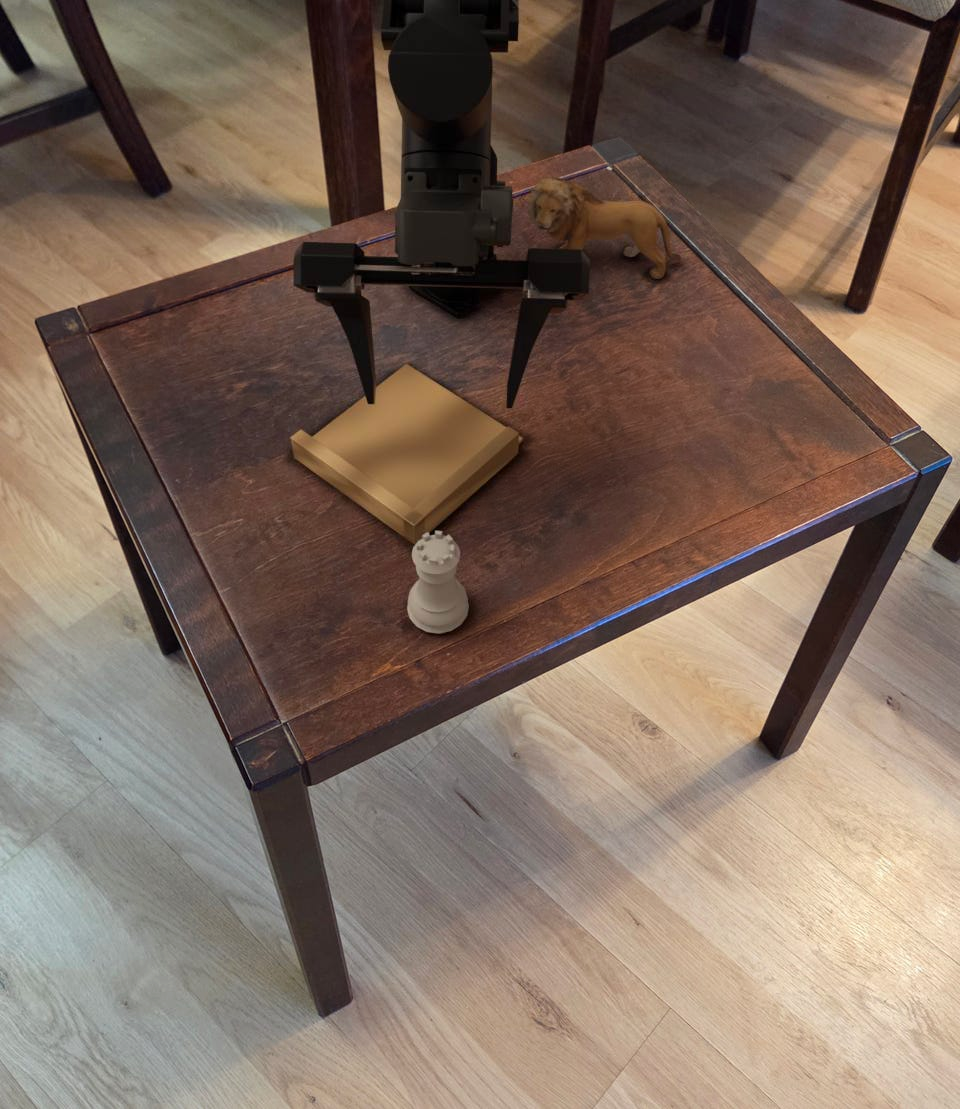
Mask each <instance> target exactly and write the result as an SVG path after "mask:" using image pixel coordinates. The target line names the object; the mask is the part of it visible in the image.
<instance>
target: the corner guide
mask: <svg viewBox="0 0 960 1109" xmlns="http://www.w3.org/2000/svg"><path fill="white" fill-rule="evenodd" d="M522 442H524V438H523V437H522V436H520V432H518V431H517V430H515V429H514V428H512V427H511V426H509V425H508V426H505V425H504V424H502V423H500V422H499V421H497V420H495V419H494V418H492V417H491V416H489V415H488V414H486V413H485V412H483V411H481V410H480V409H478V408H477V407H475V406H474V405H473V404H470V403H469V402H467V401H466V400H464V399H463V398H461V397H460V396H458V395H456V394H455V393H453V392H452V391H451V390H448V389H447V388H445V387H444V386H442V385H440V384H439V383H437V382H436V381H434V380H433V379H431V378H430V377H428V376H427V375H425V374H424V373H422V372H420V371H419V370H417V369H415V368H414V367H413V366H411V365H409V364H408V363H406V364H404V365H403V366H402V367H400V368H399V369H398V370H397V371H395V372H394V373H392V374H391V375H390V376H388V377H387V378H386V379H384V381H382V382H381V383H379V384H378V385H376V395H375V404H368V403H367V400H366V396H365V395H364V396H363V397H361V398H360V399H359V400H358V401H357V402H355V403H354V404H353V405H351V406H350V407H349V408H347V409H346V410H344V411H343V412H342V413H341V414H340V415H338V416H336V418H334V419H333V420H332V421H330V422H329V423H328V424H327V425H325V426H324V427H323V428H322V429H320V430H319V431H317V432H316V433H315V434H314V435H313V436H312V435H310V434H309V433H308V432H306V431H304V430H303V429H299V430H298V431H297V432H295V433H294V434H293V435H291V436H290V443H291V448H292V453H293V458H294V459H295V460H296V461H298V462H299V463H301V465H303V466H305V467H306V468H308V469H309V470H310V471H311V472H313V473H315V474H316V475H317V476H318V477H320V478H321V479H322V480H324V481H325V482H327V483H328V484H330V485H331V486H333V487H334V489H337V491H339V492H340V493H342V494H343V495H344V496H346V497H347V498H349V499H351V500H352V501H353V502H355V503H356V504H357V505H359V506H360V507H362V508H363V509H364V510H366V511H367V512H369V513H370V514H371V515H372V516H374V517H375V518H377V519H378V520H379V521H381V522H382V523H384V524H385V525H387V527H389V528H390V529H392V530H393V531H395V532H396V533H398V534H399V535H400V536H402V537H403V538H404V539H406V540H407V541H408V542H410V543H411V544H413V545H414V546H415V545H416V543H417V542H418V541H419V540H421V539H422V535H424V534H425V533H427V532H428V533H429V534H430V533H431V532H432V531H433V530H435V529H436V528H437V527H438V526H439V525H440V524H441V523H442V522H443V521H445V520H446V519H447V518H448V517H449V516H450V515H451V514H453V512H454V511H456V510H457V509H458V508H459V507H460V506H461V505H462V504H463V503H464V502H466V501H467V500H468V499H469V498H470V497H471V496H472V495H474V494H475V493H476V492H477V491H478V490H479V489H480V488H482V486H483V485H485V484H486V483H487V482H488V481H490V479H491V478H492V477H494V476H495V475H496V474H497V473H498V472H500V470H502V469H503V468H504V467H505V466H506V465H507V464H508V463H509V462H511V461H512V460H513V459H514V458H515V457H516V456H518V454H519V445H521V443H522Z"/></svg>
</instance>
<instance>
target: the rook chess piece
mask: <svg viewBox="0 0 960 1109" xmlns="http://www.w3.org/2000/svg"><path fill="white" fill-rule="evenodd" d="M460 557H461V550H460V547H459V545H458V544H457V543H456V542H455V540H454V539H453V537H452V536H451V535H450V534H447V535H443V531H442V530H434V534H431V535H430V533H428V532H427V533H425V534H424V535H422V539H421V540H419V541H418V542H417V543H416V545H414V546H413V548H412V551H411V558H412V561H413V565H415V570H416V573H417V576H418V580H416V581H415V583H414V584H413V586H412V587H411V588H410V590H409V593H408V598H407V607H406V610H407V613H408V617H409V618H408V619H410V620H411V622H412V624H414V625H415V627H416V628H418V629H420V630H422V631H424V632H426V633H432V634H444V633H447V632H452V631H453V630H455V629H456V628H458V627H460V626H461V625H462V624H463V622H464V621H465V620H466V618H467V617H468V613H469V607H470V605H469V602H468V601H469V598H468V595H467V591H466V589H465V586H464V585H463V584H462V583H461V582H460V581H459V580H458V579H457V578H456V576H455V575H456V574H457V570H458V565H457V564H458V563H459V562H460V559H461V558H460Z"/></svg>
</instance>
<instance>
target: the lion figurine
mask: <svg viewBox="0 0 960 1109" xmlns="http://www.w3.org/2000/svg"><path fill="white" fill-rule="evenodd" d="M529 197H530V200H529V202H528V209H527V213H528V216H529V219H530V220H531V222H532V223H533V224H534V225H535V226H536V227H537V228H538V231H539V232H541V233H548V235H549V237H551V239H554V240H555V241H563V242H565V243H564V244H562V245H561V246H560V247H559V249H581V250H582V251H583V249H584V246H585V245H586V244H587V242H588V239H592V240H598V241H611V240H612V241H613V240H617V239H619V238H622V237H624V236H626V235H628V236H629V237H630V238H631V240H632V241H633V243H634V246H626V247H625V248H624V249H623V255H624V256H625V257H628V258H632V257H636V256H637V255H638V254H639V253H641V254H642V255H644V256H645V257H646V258H648V259H649V260H651V261H652V262H653V263H654V264H655V265H656V267H653V268H652V269H650V271H649V275H650V276H651V278H653V279H655V280H660V279H662V278H663V277H664V275H665V273H666V269H667V268H666V267H667V264H666V263H667V261H666V259H667V258H668V259H669V260H670V261H673V262H675V263H676V262H679V261H681V260H682V255H681V254H678V253H674V252H673V251H672V248H671V238H670V231H669V228H668V223H667V221H666V219H665V217H664V216H663V215H662V214H661V212H659V210H658V209H657V208H656V207H655V206H653V205H652V204H650V203H648V202H647V201H643V200H640V199H639V200H638V199H636V200H628V201H627V200H625V201H613V200H604V199H599V198H598V197H596V196H595V194H594V193H593V192H592V191H591V190H590V189H588V188H585V187H584V186H580V184H579V183H573V182H572V181H571V180H570V179H565V178H560V177H546V178H545V177H544V178H542V179H540V180H539V181H538V182H537V183H536V184H535V186H534V187H532V188H531V189H530V195H529ZM658 229H660V233H661V237H662V241H663V246H664V247H663V248H664V251H665V254H666V255H665V254H664V253H663V252H662V251H661V250H660V247H659V245H658V241H657V236H658V235H657V234H658ZM666 256H667V258H666Z"/></svg>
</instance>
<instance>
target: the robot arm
mask: <svg viewBox="0 0 960 1109" xmlns="http://www.w3.org/2000/svg"><path fill="white" fill-rule="evenodd" d="M519 3H520V2H519V0H383V3H382V5H383V6H382V13H381V14H382V15H381V27H380V42H381V45H382V48H383V51H390V52H389V54H388V57H387V71H388V77H389V83H390V87H391V89H392V93H393V95H394V99H395V102H396V106H397V109H398V111H399V114H400V116H401V155H400V156H401V159H400V199H399V202H398V204H397V205H396V211H395V214H394V219H395V220H394V224H395V225H394V253H395V254H396V255H397V256H380V255H379V256H377V255H376V256H373V255H365V251H364V250H363V249H362V248H361V246H360V245H359V244H358V243H356V242H327V241H326V242H325V241H324V242H323V241H302V243H300V245H299V246H298V247H297V248H296V249H295V250H294V254H293V286H294V287H296V288H298V289H300V290H302V291H304V292H306V293H310V294H314V301H315V302H317V303H319V304H321V305H323V306H325V307H328V308H329V307H330V308H331V309H332V310H333V311H334V313H335V315H336V317H337V319H338V321H339V323H340V325H341V327H342V329H343V332H344V334H345V337H346V339H347V341H348V344H349V347H350V350H351V353H352V356H353V361H354V363H355V367H356V369H357V370H356V371H357V373H358V376H359V379H360V383H361V387H362V390H363V392H364V396H366V400H367V403H368V404H375V395H376V387H377V376H376V374H377V372H376V362H375V361H376V360H375V352H374V340H373V338H374V337H373V329H372V328H373V326H372V314H371V303H370V300H369V299H368V298H366V297H365V296H363V295H362V290H365V287H366V286H365V285H369V286H370V285H373V286H404V287H405V286H406V287H407V286H408V288H409V290H411V291H413V292H415V293H416V294H418V295H419V296H421V297H422V298H424V299H426V300H428V301H430V302H431V303H433V304H435V305H436V306H438V307H439V308H441V309H443V310H444V311H446V312H448V313H449V314H451V315H453V316H454V317H456V318H462V317H464V316H465V315H466V314H468V313H469V312H470V311H472V310H473V309H474V308H476V307H477V306H479V304H481V303H483V301H485V300H486V299H487V298H489V297H490V296H491V295H493V294H494V293H495V292H496V291H498V290H499V289H517V290H522V295H525V297H522V298H521V301H520V304H519V309H518V315H517V322H516V325H515V326H516V327H515V334H514V340H513V345H512V352H511V357H510V364H509V369H508V376H507V382H506V383H507V384H506V404H505V406H506V409H513V407H514V404H515V401H516V398H517V395H518V392H519V390H520V386H521V384H522V380H523V377H524V374H525V371H526V369H527V365H528V362H529V359H530V358H531V357H530V356H531V353H532V352H533V348H534V345H535V343H536V342H537V339H538V337H539V335H540V334H541V331H542V329H543V327H544V325H545V323H546V321H547V319H548V317H549V315H550V314H562V313H564V311H566V309H567V308H568V301H583V300H584V299H585V298H586V297H587V296H588V295H589V294H590V274H591V272H590V270H591V264H590V262H591V260H590V258H589V257H588V255H586V253H585V252H584V251H583V250H581V249H560V248H545V247H543V248H542V247H541V248H540V247H528V249H527V253H526V257H525V260H524V259H523V260H519V259H498V256H497V254H496V253H495V247H497V248H503V247H509V246H510V245H511V243H512V227H513V226H512V225H513V212H514V199H513V186H511V185H506V180H498V156H497V153H496V152H495V149H494V148H493V146H492V144H491V142H492V113H493V112H492V109H493V108H492V106H493V74H494V73H493V70H494V69H493V68H494V67H493V66H494V65H493V57H492V53H497V54H498V53H501V54H503V53H504V54H507V53H508V54H509V42H519V27H520V12H519V10H520V8H519V6H520V5H519Z"/></svg>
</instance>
